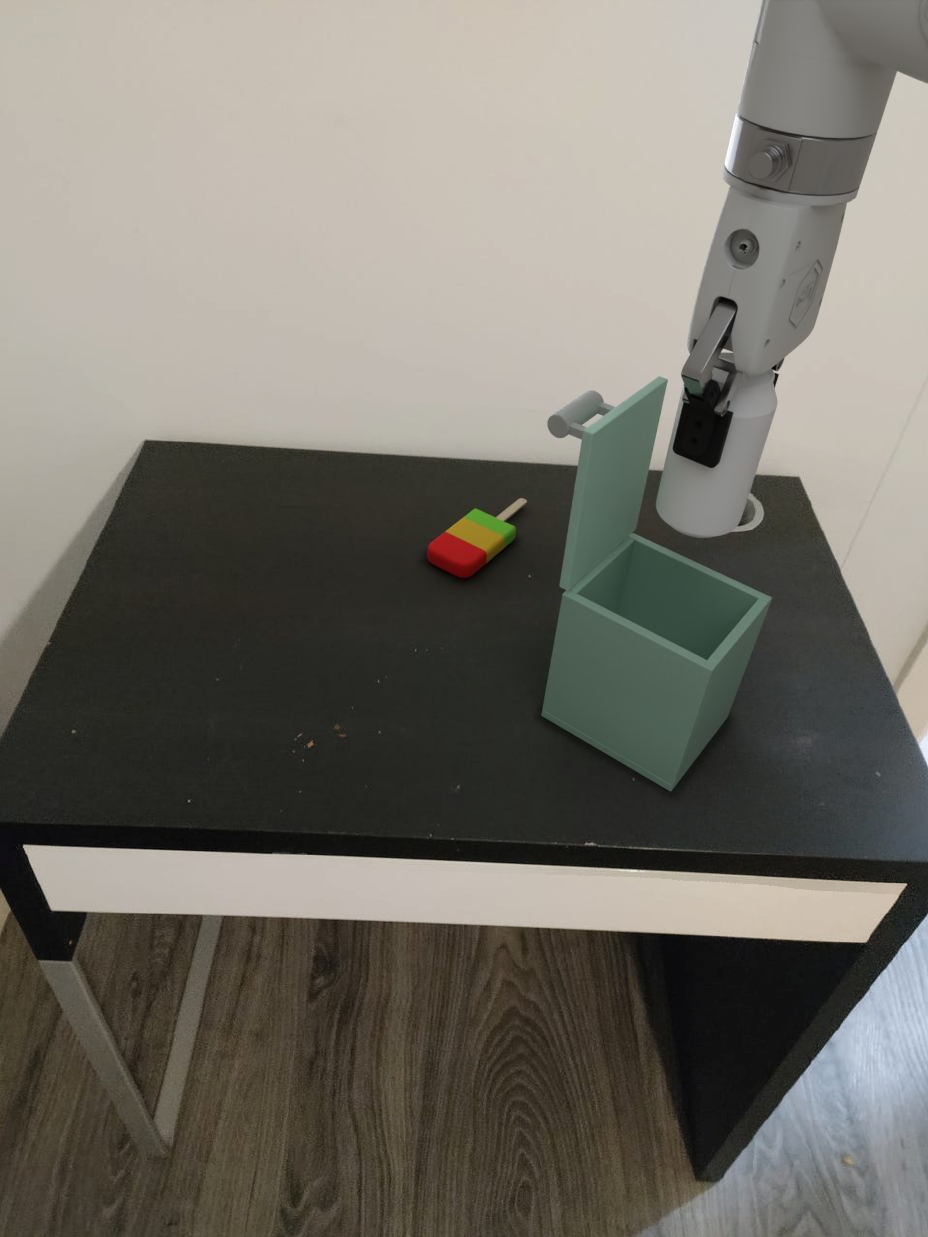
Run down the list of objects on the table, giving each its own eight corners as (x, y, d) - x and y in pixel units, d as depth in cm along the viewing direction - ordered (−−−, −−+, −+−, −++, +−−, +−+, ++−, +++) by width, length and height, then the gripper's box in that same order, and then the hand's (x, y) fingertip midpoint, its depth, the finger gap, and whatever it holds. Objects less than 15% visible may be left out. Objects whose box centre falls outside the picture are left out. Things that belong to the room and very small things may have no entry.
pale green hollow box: (727, 717, 81) (772, 597, 72) (670, 792, 75) (712, 671, 65) (604, 651, 86) (631, 531, 77) (540, 715, 80) (562, 593, 71)
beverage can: (740, 506, 70) (786, 357, 62) (735, 553, 65) (784, 399, 57) (658, 489, 71) (693, 340, 63) (647, 534, 66) (683, 381, 58)
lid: (668, 378, 68) (607, 356, 70) (593, 434, 61) (528, 407, 64) (636, 529, 77) (583, 505, 79) (567, 591, 70) (511, 563, 72)
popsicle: (421, 561, 95) (422, 546, 93) (502, 497, 104) (504, 483, 103) (465, 583, 92) (467, 568, 91) (544, 516, 102) (546, 502, 101)
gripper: (799, 209, 45) (711, 515, 57) (911, 143, 55) (817, 412, 67) (662, 172, 48) (606, 469, 60) (793, 116, 59) (723, 377, 71)
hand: (718, 436), depth 63 cm, fingers closed on beverage can, 6 cm apart
